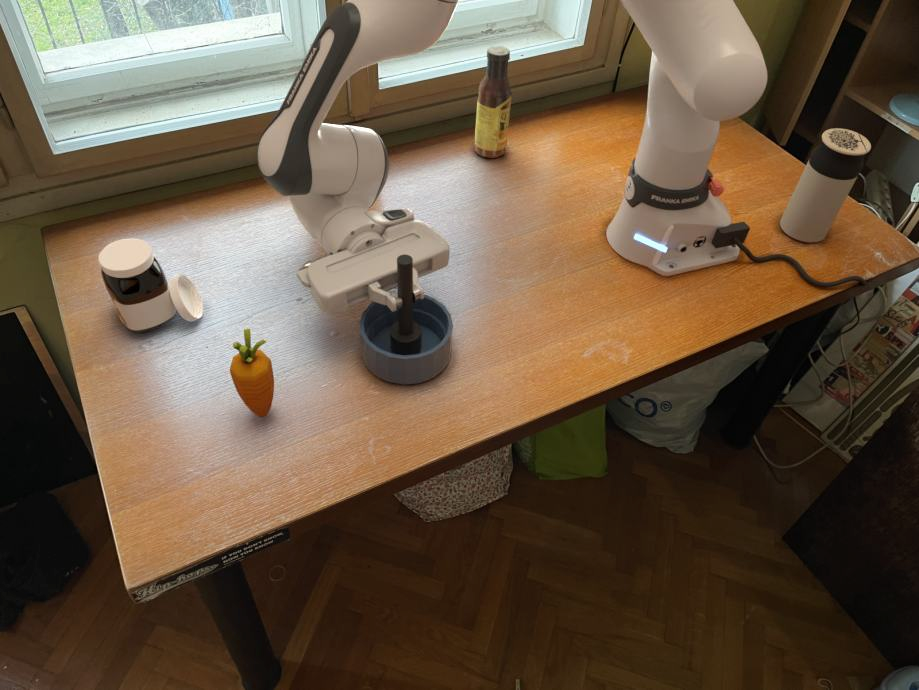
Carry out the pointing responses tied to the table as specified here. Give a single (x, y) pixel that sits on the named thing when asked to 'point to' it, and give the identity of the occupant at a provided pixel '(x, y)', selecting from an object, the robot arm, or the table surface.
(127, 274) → the spread jar
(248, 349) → the carrot
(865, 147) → the travel mug
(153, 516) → the table surface
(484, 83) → the sauce bottle
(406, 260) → the black rod with base
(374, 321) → the bowl
